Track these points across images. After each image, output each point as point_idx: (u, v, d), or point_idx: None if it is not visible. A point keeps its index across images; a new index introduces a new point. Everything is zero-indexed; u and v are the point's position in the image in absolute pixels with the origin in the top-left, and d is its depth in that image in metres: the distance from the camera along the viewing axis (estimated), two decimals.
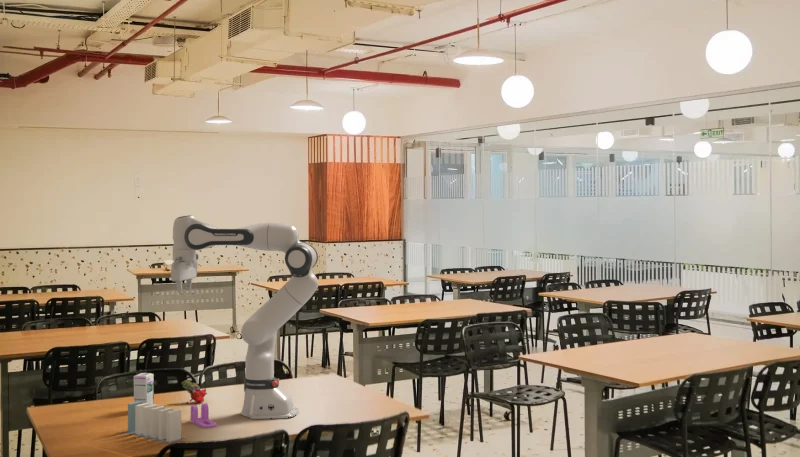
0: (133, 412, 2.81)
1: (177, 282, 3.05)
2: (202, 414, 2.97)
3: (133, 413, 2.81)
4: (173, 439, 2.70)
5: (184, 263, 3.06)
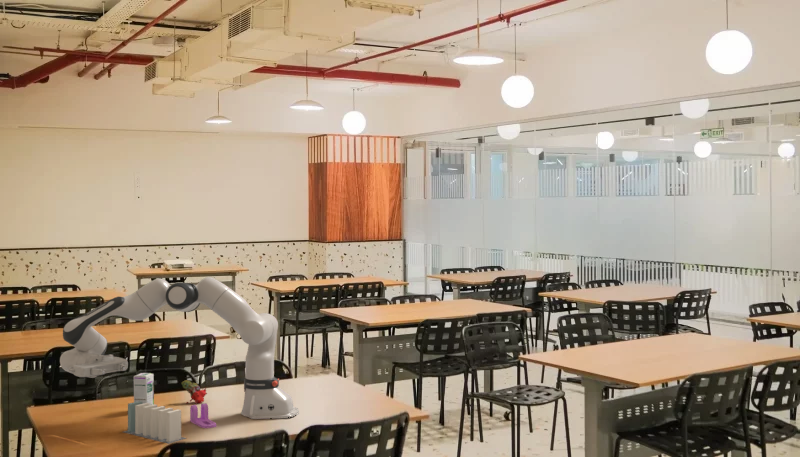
0: (133, 412, 2.81)
1: (92, 372, 2.86)
2: (202, 414, 2.97)
3: (133, 413, 2.81)
4: (173, 439, 2.70)
5: (84, 363, 2.92)
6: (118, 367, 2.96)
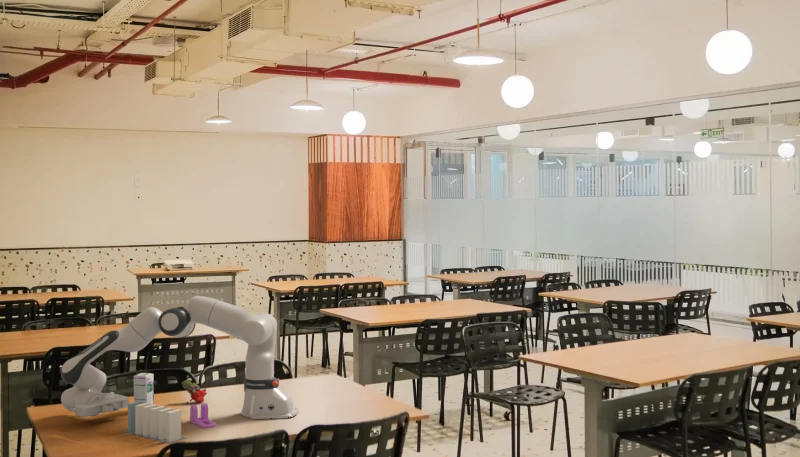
0: (133, 412, 2.81)
1: (102, 409, 2.89)
2: (202, 414, 2.97)
3: (133, 413, 2.81)
4: (173, 439, 2.70)
5: (85, 402, 2.91)
6: None
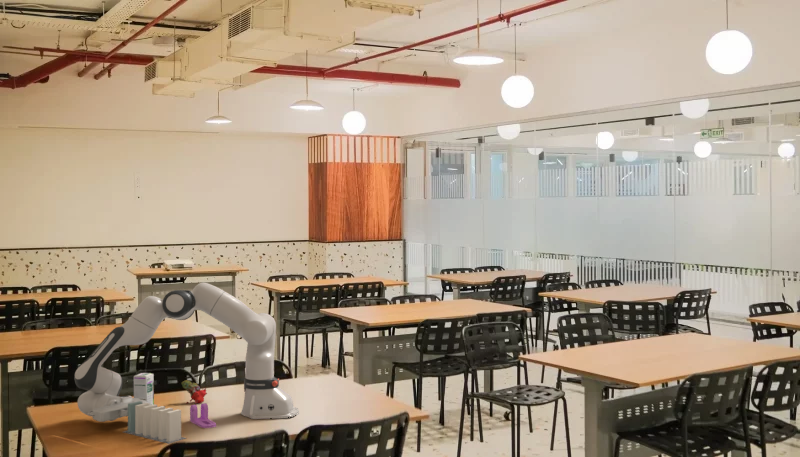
0: (133, 412, 2.81)
1: (121, 414, 2.83)
2: (201, 414, 2.97)
3: (133, 413, 2.81)
4: (173, 439, 2.70)
5: (103, 406, 2.85)
6: None
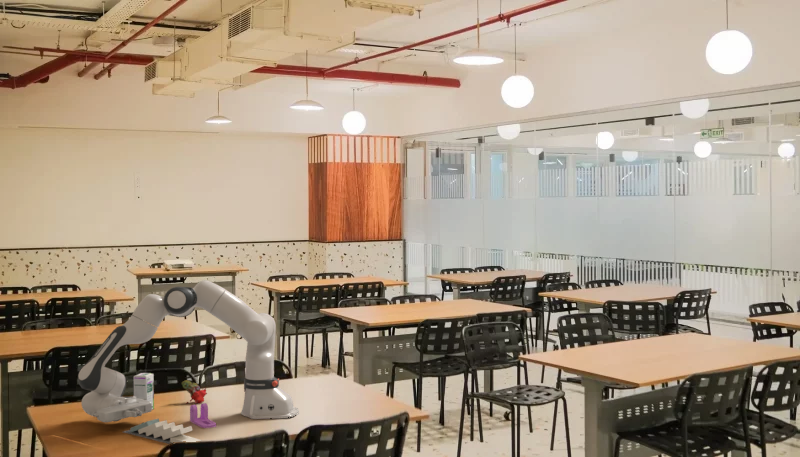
0: None
1: (125, 414, 2.82)
2: (201, 414, 2.97)
3: None
4: None
5: (107, 407, 2.84)
6: None
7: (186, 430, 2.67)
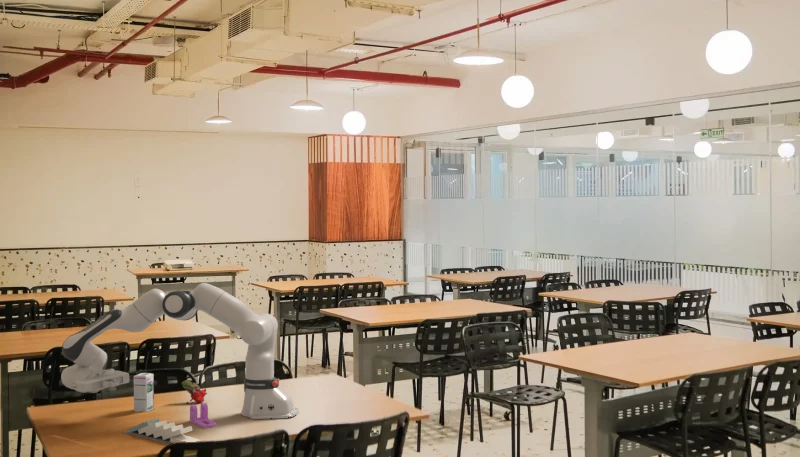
0: None
1: (103, 385, 2.89)
2: (201, 414, 2.97)
3: None
4: None
5: (85, 378, 2.91)
6: None
7: (186, 430, 2.67)
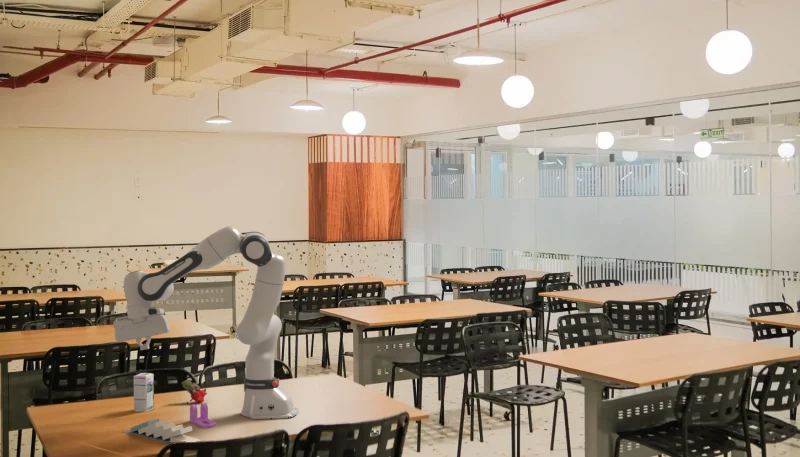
0: None
1: None
2: (201, 414, 2.97)
3: None
4: None
5: (127, 322, 2.97)
6: None
7: (186, 430, 2.67)
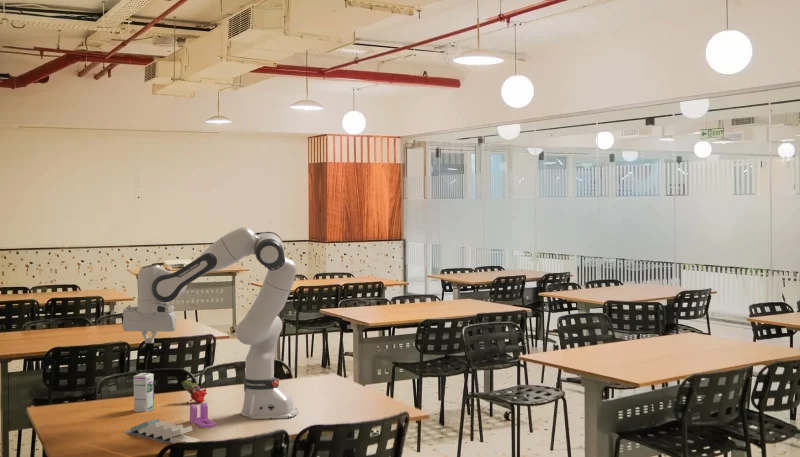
0: None
1: None
2: (201, 414, 2.97)
3: None
4: None
5: (135, 313, 2.99)
6: None
7: (186, 430, 2.67)
